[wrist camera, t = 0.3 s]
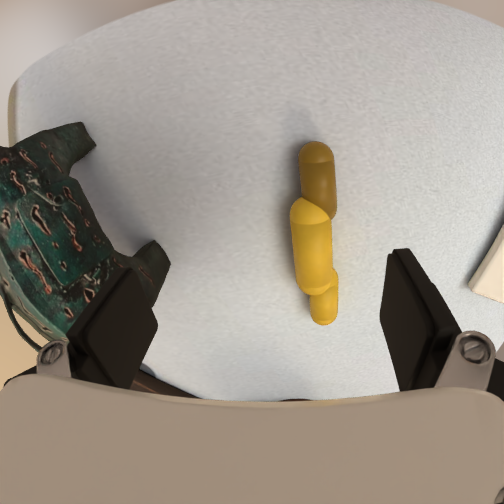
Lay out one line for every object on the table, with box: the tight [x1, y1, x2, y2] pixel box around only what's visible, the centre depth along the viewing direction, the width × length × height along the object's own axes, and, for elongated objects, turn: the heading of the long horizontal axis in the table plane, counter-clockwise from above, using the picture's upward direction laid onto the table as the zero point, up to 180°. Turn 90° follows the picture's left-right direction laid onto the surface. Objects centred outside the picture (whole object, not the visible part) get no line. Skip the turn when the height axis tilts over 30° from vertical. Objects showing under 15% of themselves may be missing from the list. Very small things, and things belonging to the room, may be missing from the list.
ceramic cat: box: [0, 122, 171, 353], centre depth 17 cm, size 20×6×20 cm, turn 29°
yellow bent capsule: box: [290, 141, 338, 325], centre depth 25 cm, size 18×4×3 cm, turn 9°
